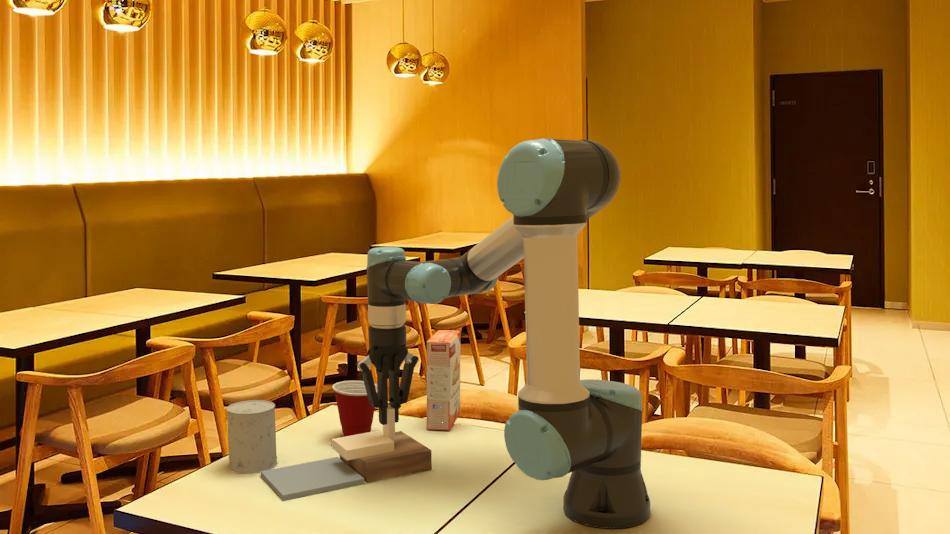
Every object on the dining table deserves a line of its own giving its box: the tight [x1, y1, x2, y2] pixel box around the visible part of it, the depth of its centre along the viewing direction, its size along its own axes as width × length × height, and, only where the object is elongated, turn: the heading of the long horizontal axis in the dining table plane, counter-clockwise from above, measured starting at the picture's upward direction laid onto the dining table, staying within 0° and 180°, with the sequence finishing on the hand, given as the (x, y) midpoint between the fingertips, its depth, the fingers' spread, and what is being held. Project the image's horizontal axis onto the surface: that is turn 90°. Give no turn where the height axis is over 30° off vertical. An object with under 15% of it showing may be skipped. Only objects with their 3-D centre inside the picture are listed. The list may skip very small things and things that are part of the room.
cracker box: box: [426, 329, 462, 432], centre depth 201 cm, size 14×6×21 cm, turn 171°
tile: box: [331, 430, 394, 460], centre depth 171 cm, size 8×10×2 cm
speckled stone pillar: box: [226, 399, 278, 475], centre depth 174 cm, size 10×10×12 cm
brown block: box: [339, 430, 433, 484], centre depth 174 cm, size 14×14×4 cm
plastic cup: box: [332, 380, 377, 437], centre depth 190 cm, size 11×11×12 cm
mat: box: [260, 456, 366, 502], centre depth 166 cm, size 14×16×1 cm
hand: (389, 438), depth 174 cm, fingers closed
